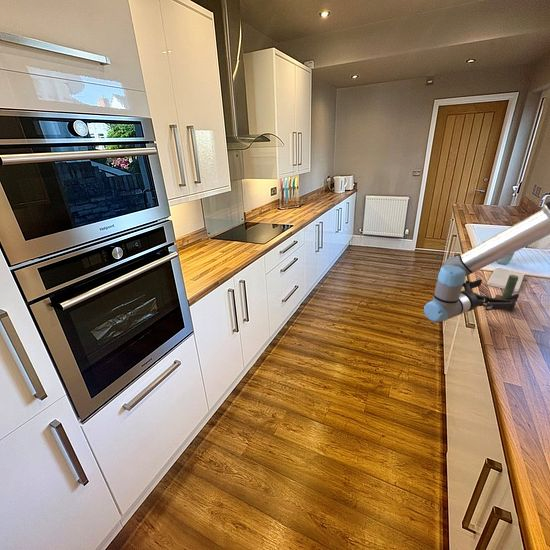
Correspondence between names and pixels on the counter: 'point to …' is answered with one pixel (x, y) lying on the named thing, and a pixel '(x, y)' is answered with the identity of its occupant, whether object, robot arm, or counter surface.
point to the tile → (504, 278)
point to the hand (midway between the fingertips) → (497, 289)
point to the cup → (505, 259)
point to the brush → (509, 288)
